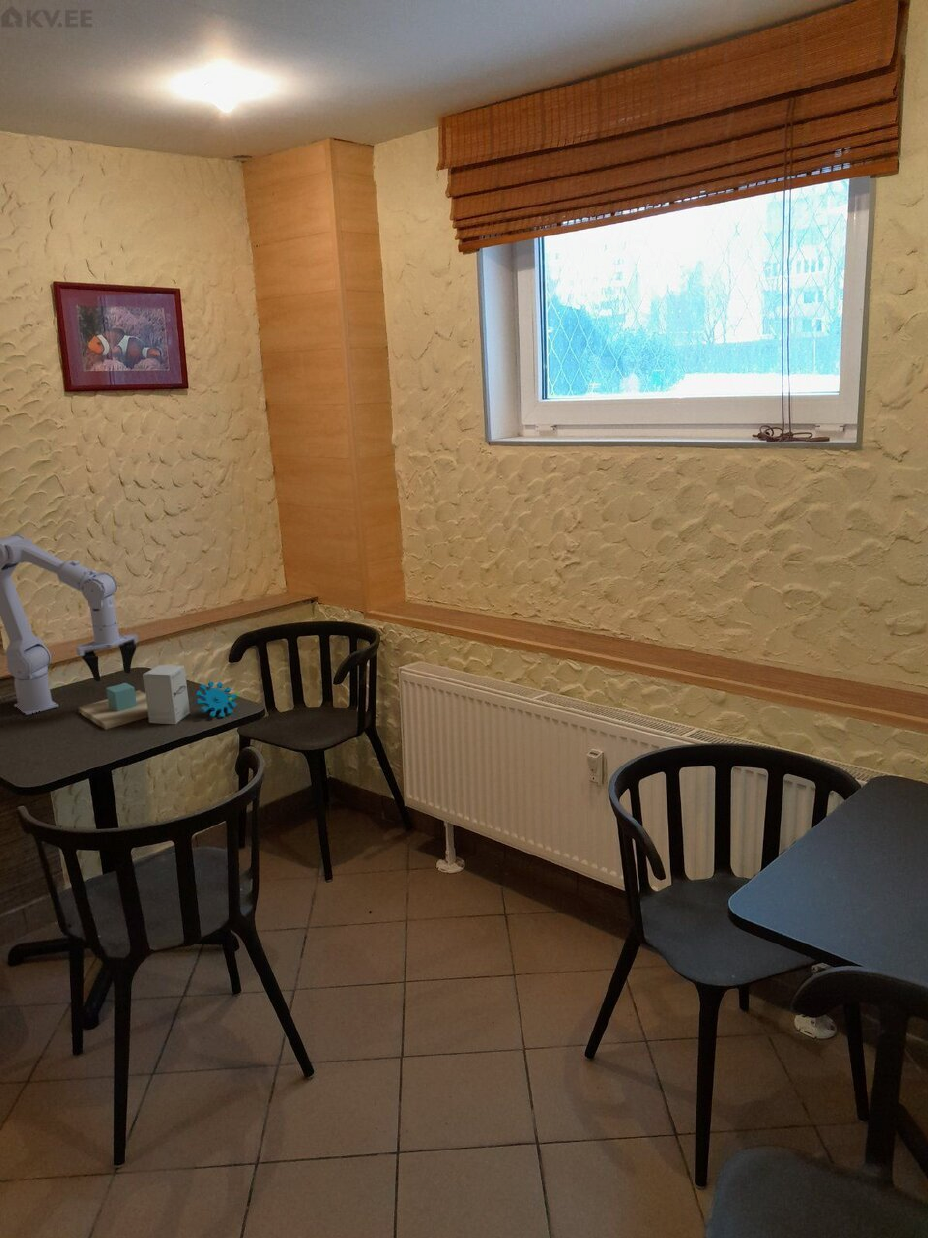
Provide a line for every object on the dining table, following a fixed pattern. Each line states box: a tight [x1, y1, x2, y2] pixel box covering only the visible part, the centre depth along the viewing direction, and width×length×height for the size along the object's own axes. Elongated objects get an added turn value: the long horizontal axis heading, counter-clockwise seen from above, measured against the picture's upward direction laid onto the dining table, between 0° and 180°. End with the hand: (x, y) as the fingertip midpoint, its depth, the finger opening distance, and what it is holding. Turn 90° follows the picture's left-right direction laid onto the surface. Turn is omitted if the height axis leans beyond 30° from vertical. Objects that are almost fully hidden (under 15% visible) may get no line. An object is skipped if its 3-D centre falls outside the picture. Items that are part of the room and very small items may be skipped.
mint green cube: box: [106, 682, 137, 712], centre depth 233 cm, size 5×5×5 cm
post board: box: [78, 690, 149, 730], centre depth 234 cm, size 16×16×5 cm
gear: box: [195, 680, 240, 718], centre depth 231 cm, size 11×6×10 cm
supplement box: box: [142, 664, 191, 725], centre depth 227 cm, size 7×7×13 cm
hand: (112, 676), depth 232 cm, fingers open, 7 cm apart
